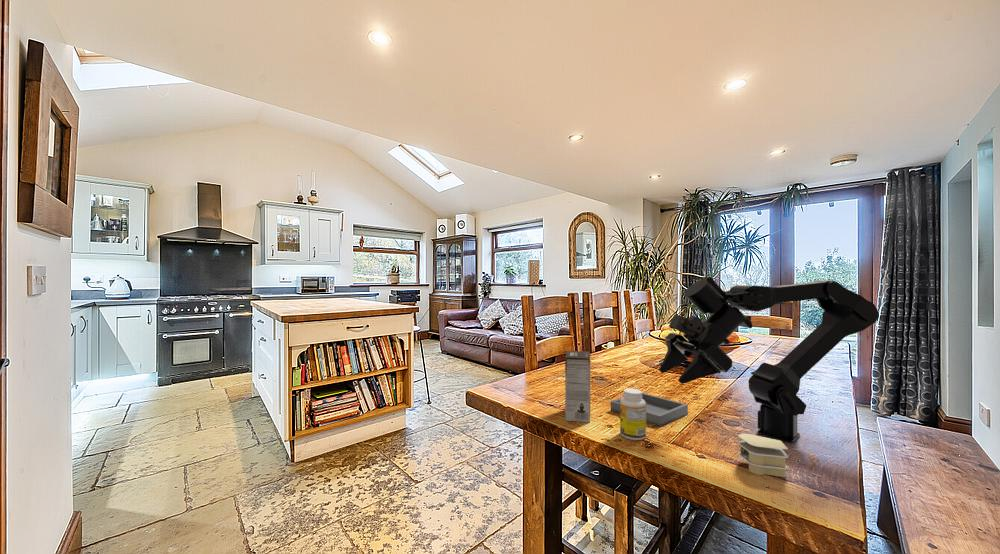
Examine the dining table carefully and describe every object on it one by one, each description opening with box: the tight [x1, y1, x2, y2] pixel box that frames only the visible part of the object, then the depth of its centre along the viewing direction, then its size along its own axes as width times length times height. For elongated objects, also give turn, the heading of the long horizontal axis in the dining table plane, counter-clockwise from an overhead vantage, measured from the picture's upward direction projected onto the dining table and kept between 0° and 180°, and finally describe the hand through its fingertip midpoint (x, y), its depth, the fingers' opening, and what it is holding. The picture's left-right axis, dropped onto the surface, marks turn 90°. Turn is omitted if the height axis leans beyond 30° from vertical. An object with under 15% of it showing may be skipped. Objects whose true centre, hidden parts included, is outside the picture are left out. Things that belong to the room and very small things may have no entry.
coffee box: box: [564, 350, 592, 423], centre depth 96 cm, size 9×6×16 cm
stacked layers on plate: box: [737, 433, 789, 478], centre depth 69 cm, size 10×9×6 cm
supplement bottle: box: [619, 388, 647, 441], centre depth 83 cm, size 6×6×10 cm
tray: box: [610, 392, 689, 428], centre depth 98 cm, size 14×14×2 cm
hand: (669, 376), depth 84 cm, fingers open, 9 cm apart
